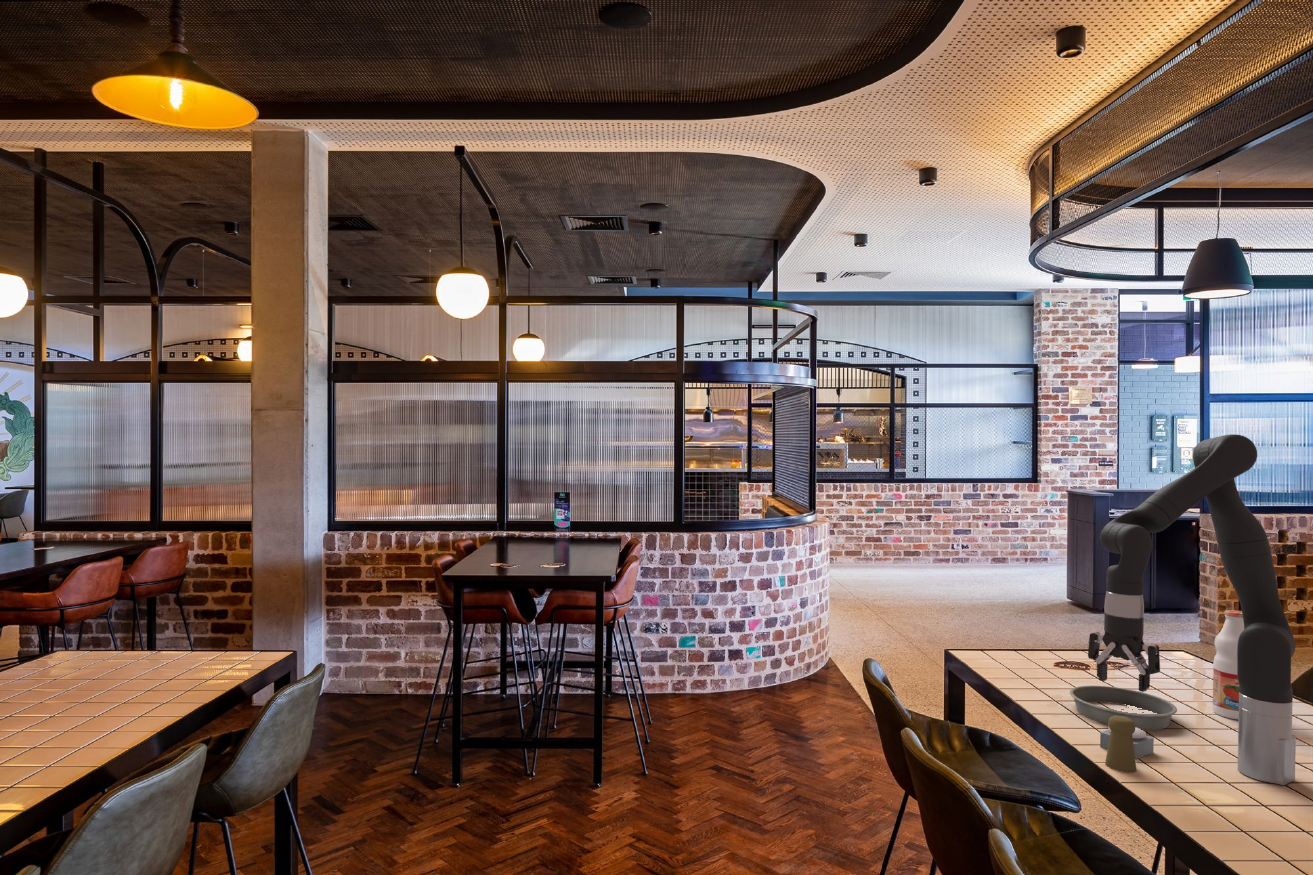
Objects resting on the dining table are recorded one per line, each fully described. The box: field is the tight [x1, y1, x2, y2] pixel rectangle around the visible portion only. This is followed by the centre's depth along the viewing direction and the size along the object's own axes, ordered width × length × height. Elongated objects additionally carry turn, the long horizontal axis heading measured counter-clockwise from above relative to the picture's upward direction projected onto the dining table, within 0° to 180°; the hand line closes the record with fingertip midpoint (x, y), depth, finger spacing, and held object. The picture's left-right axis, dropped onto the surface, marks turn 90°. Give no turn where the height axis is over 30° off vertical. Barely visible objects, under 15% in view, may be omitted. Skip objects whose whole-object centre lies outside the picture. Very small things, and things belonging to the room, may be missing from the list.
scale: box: [1099, 727, 1155, 760], centre depth 181 cm, size 8×8×5 cm
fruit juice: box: [1212, 609, 1244, 721], centre depth 207 cm, size 9×9×28 cm
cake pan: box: [1069, 685, 1178, 731], centre depth 205 cm, size 25×25×4 cm
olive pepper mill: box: [1104, 716, 1137, 774], centre depth 171 cm, size 6×6×11 cm
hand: (1122, 685), depth 171 cm, fingers open, 8 cm apart
